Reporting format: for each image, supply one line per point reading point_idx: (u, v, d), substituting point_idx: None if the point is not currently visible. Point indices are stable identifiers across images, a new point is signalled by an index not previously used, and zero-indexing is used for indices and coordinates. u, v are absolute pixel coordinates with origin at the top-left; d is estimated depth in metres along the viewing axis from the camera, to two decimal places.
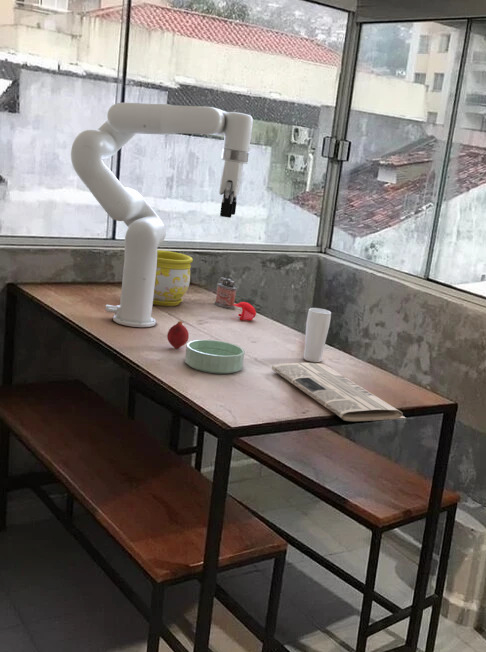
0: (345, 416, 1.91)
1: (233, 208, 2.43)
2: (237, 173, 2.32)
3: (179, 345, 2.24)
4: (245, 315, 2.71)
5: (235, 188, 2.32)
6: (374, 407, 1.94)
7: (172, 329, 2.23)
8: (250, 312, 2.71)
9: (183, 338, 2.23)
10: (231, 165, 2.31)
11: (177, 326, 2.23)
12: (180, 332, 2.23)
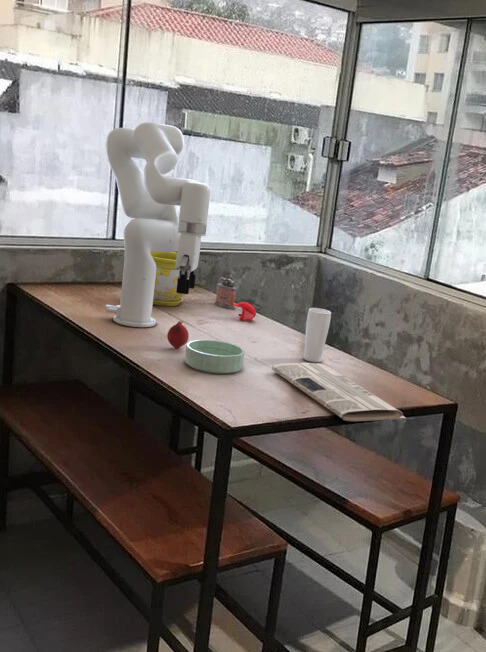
0: (345, 416, 1.91)
1: (192, 281, 2.27)
2: (194, 247, 2.15)
3: (179, 345, 2.24)
4: (245, 315, 2.71)
5: (192, 262, 2.16)
6: (374, 407, 1.94)
7: (172, 329, 2.23)
8: (250, 312, 2.71)
9: (183, 338, 2.23)
10: (188, 239, 2.15)
11: (177, 326, 2.23)
12: (180, 332, 2.23)
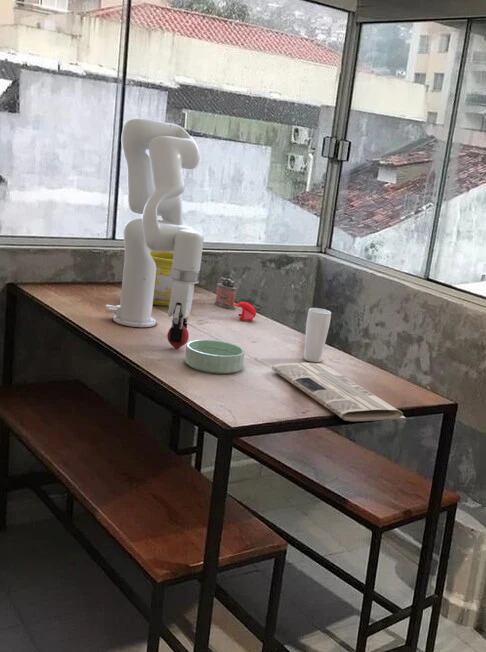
0: (345, 416, 1.91)
1: None
2: (186, 295, 2.18)
3: (179, 345, 2.24)
4: (245, 315, 2.71)
5: (185, 310, 2.19)
6: (374, 407, 1.94)
7: None
8: (250, 312, 2.71)
9: (183, 338, 2.23)
10: (180, 287, 2.17)
11: None
12: None
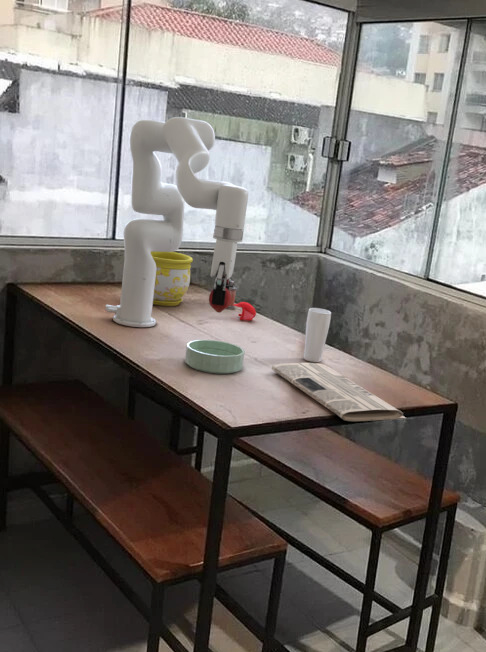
0: (345, 416, 1.91)
1: None
2: (230, 254, 2.05)
3: (221, 308, 2.11)
4: (245, 315, 2.71)
5: (229, 270, 2.06)
6: (375, 407, 1.94)
7: None
8: (250, 312, 2.71)
9: (226, 301, 2.10)
10: (224, 245, 2.04)
11: None
12: None
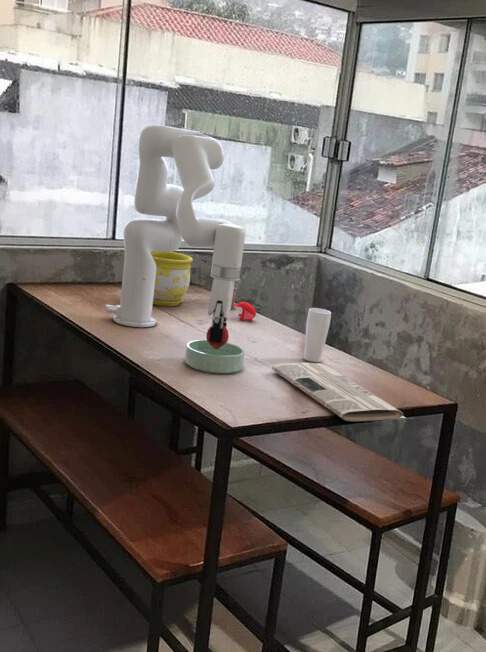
0: (345, 416, 1.91)
1: None
2: (228, 293, 2.07)
3: (219, 345, 2.13)
4: (245, 315, 2.71)
5: (226, 308, 2.07)
6: (375, 407, 1.94)
7: None
8: (250, 312, 2.71)
9: (223, 338, 2.12)
10: (221, 284, 2.06)
11: None
12: None
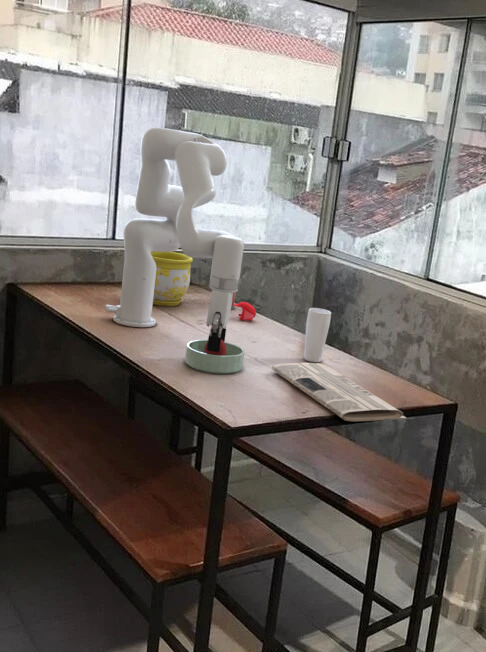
0: (345, 416, 1.91)
1: (222, 336, 2.19)
2: (226, 304, 2.08)
3: None
4: (245, 315, 2.71)
5: (224, 320, 2.08)
6: (375, 407, 1.94)
7: None
8: (250, 312, 2.71)
9: (221, 353, 2.13)
10: (220, 296, 2.07)
11: None
12: None
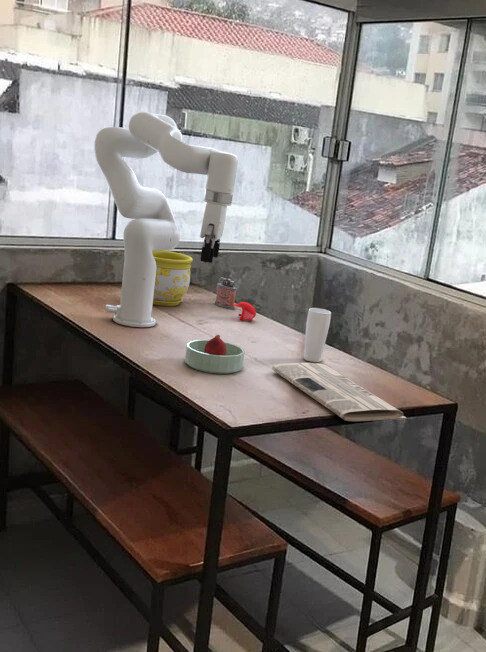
0: (346, 416, 1.91)
1: (216, 250, 2.30)
2: (219, 216, 2.18)
3: None
4: (245, 315, 2.71)
5: (217, 231, 2.19)
6: (375, 407, 1.94)
7: (210, 343, 2.13)
8: (250, 312, 2.71)
9: (221, 353, 2.13)
10: (214, 208, 2.18)
11: (215, 340, 2.13)
12: (218, 346, 2.13)
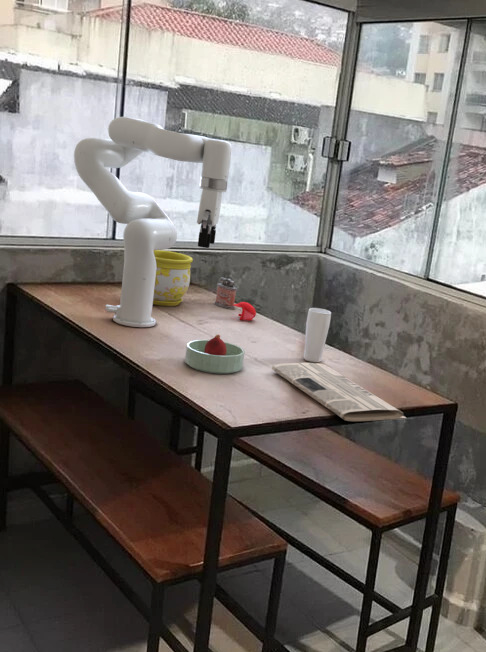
0: (346, 416, 1.91)
1: (212, 237, 2.35)
2: (215, 202, 2.24)
3: None
4: (245, 315, 2.71)
5: (214, 217, 2.25)
6: (375, 407, 1.94)
7: (210, 343, 2.13)
8: (250, 312, 2.71)
9: (221, 353, 2.13)
10: (209, 194, 2.23)
11: (215, 340, 2.13)
12: (218, 346, 2.13)
